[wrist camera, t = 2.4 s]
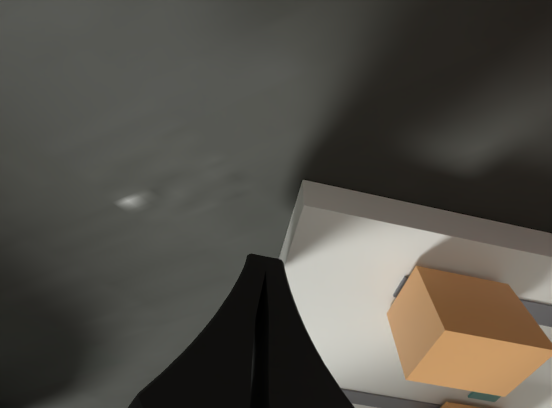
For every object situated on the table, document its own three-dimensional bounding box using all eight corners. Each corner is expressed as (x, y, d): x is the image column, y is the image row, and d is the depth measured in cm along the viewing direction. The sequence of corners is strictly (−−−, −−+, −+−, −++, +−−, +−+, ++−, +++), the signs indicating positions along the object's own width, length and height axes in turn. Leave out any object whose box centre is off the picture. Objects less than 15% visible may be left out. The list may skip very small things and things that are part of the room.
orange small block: (469, 329, 15) (505, 397, 13) (386, 313, 15) (405, 380, 12) (508, 284, 13) (557, 351, 11) (416, 265, 13) (445, 330, 11)
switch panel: (529, 412, 23) (549, 447, 21) (246, 365, 21) (242, 398, 20) (715, 269, 16) (770, 304, 14) (302, 179, 14) (304, 206, 12)
